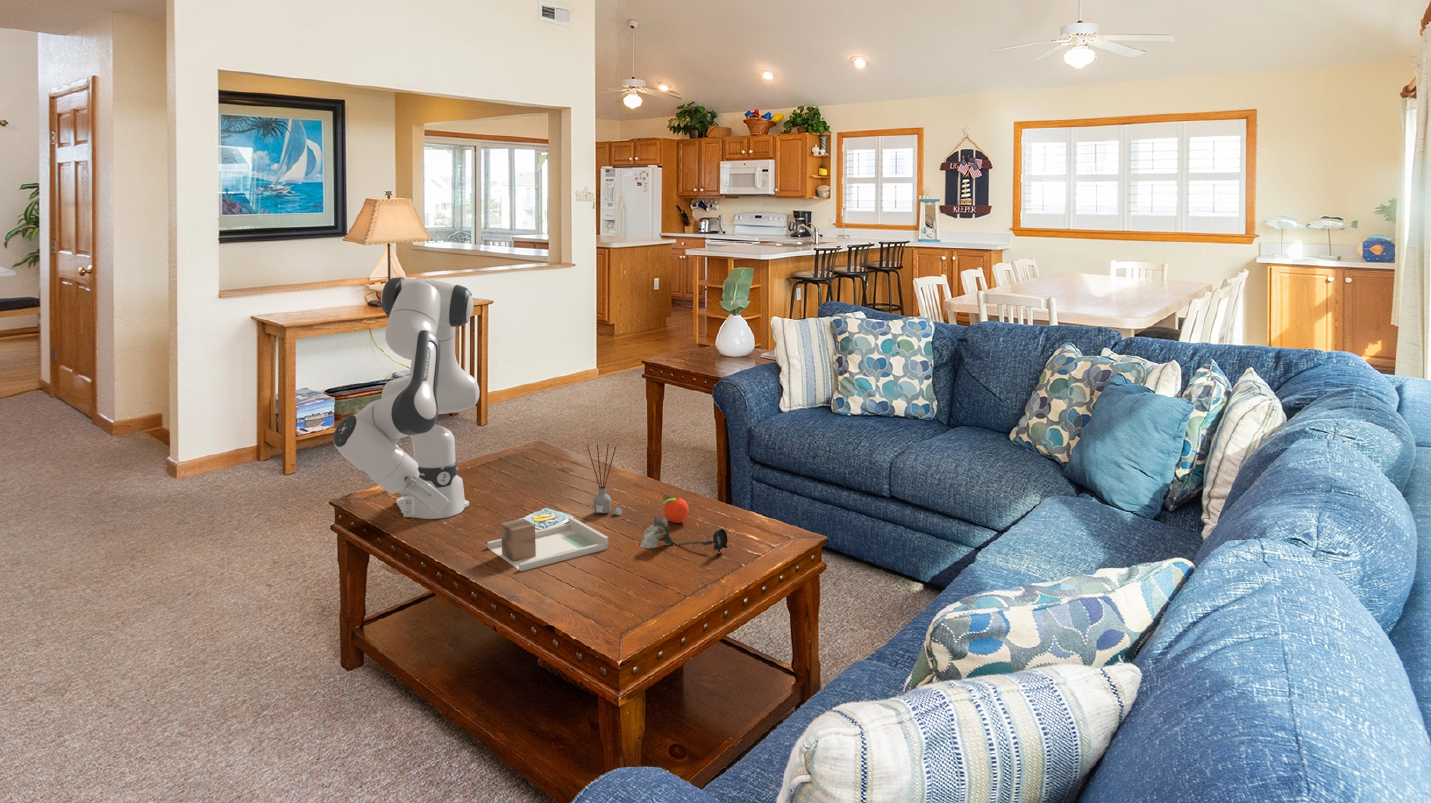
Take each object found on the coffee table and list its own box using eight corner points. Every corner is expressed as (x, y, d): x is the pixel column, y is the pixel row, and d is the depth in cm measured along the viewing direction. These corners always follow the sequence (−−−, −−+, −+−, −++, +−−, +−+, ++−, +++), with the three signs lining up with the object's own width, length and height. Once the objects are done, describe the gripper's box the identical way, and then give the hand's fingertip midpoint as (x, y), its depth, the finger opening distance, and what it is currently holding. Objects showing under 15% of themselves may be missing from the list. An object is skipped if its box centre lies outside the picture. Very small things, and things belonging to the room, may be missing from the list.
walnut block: (502, 554, 224) (501, 523, 222) (524, 548, 227) (523, 518, 226) (513, 561, 219) (512, 530, 217) (535, 556, 223) (535, 525, 221)
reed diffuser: (584, 514, 257) (583, 446, 253) (592, 506, 264) (591, 439, 259) (619, 517, 255) (619, 448, 251) (626, 509, 262) (626, 442, 257)
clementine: (662, 527, 248) (663, 502, 246) (657, 519, 255) (657, 494, 253) (691, 525, 250) (691, 500, 249) (685, 517, 257) (685, 492, 255)
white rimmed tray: (487, 553, 228) (487, 536, 227) (572, 533, 243) (571, 517, 242) (521, 577, 214) (520, 559, 213) (608, 554, 229) (608, 537, 228)
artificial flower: (719, 565, 227) (711, 532, 223) (639, 560, 236) (630, 528, 232) (731, 544, 234) (723, 512, 230) (653, 540, 243) (644, 509, 239)
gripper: (426, 472, 193) (470, 509, 201) (389, 452, 208) (431, 487, 216) (406, 496, 191) (451, 532, 199) (370, 473, 206) (413, 508, 214)
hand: (441, 508), depth 208 cm, fingers closed
